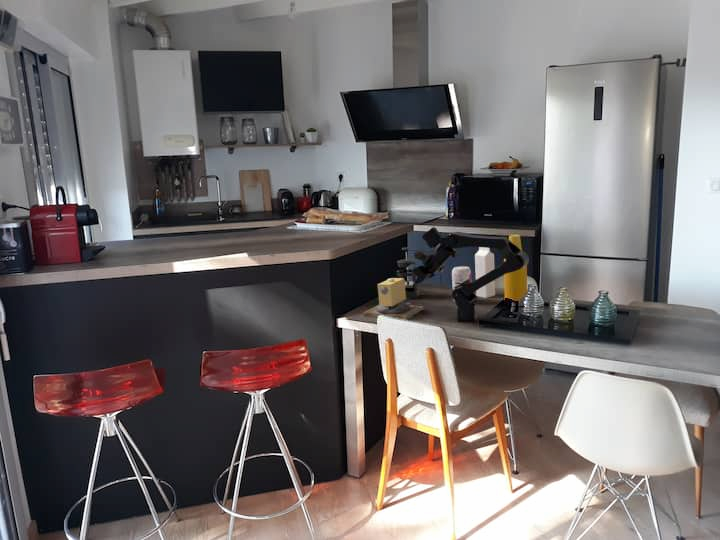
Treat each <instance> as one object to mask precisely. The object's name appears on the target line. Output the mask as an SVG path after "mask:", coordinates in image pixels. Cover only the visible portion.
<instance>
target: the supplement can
mask: <svg viewBox="0 0 720 540" xmlns="http://www.w3.org/2000/svg"><path fill="white" fill-rule="evenodd" d="M467 279H469V281H470V282H472V271H471V268H470V266H465V265H464V266H463V265H462V266H454V267H453V268H452V270H451V280H452V281H451V282H452V291H453V290H454V289H455V288H454V287H455V286H457V285H459V284H460V283H462V282H464V281H466V280H467ZM452 301H453V302H455V300H454V299H453V298H452Z"/></svg>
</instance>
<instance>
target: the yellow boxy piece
mask: <svg viewBox="0 0 720 540" xmlns="http://www.w3.org/2000/svg"><path fill="white" fill-rule="evenodd" d="M405 282H406V280H405V278H404V277H403V278H396V277H391V278H387V279H386V280H384V281H382V282H380V283H377V293H378V303H379V304H378V305H380V306H394V305H396V304H398V303H399V302H404V301H405V300H407V299H406V293H405V288H406V287H405Z"/></svg>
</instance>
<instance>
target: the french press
mask: <svg viewBox="0 0 720 540" xmlns="http://www.w3.org/2000/svg"><path fill="white" fill-rule="evenodd" d="M401 250H403V251H404V252H405V259H400V260H397V261H396V263H397V265H398V268H406V269H402V270H396V271H395V272H396V273H395V274H396V276H395V278H404V277H407V280H405V293H406V299H405V300H408V299H407V298H414V299H417V298H419V297H420V295H419V288H417V287H418V284H416V283H415V282H416V279H417V276H416V275H415V274H414V273H413V271H412V269H410V268H409V269H408V267H409V266H411V265H416V264H417V259H413V258H411V259H409V258H408V255H407V254H408V250H411V247H401ZM416 266H417V265H416ZM409 277H412V280H409ZM418 296H419V297H418ZM416 297H417V298H416Z"/></svg>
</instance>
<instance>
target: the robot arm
mask: <svg viewBox="0 0 720 540" xmlns="http://www.w3.org/2000/svg"><path fill="white" fill-rule="evenodd" d="M421 240H422V241H423V242H424V243H425V244H426V246H428V247H429V248H430V249H433V248H434V250H435V249H436V250H435V251H434V252H433V253H431V252H429V251H427V250H426V249H424V248H418V249H416V250H415V252H414V253H413V255H414V256H413V257H414V258H415V260H419V261H421V264H422V265H421V264H418V265H416V266H414V267H413V268H412V269H411V270H412V271H413V273H414V274H415V275H416V282H415V283H416V284H417V285H418V284H420V283H422V282H425V281H427V280H429V279H431V278H433V277H435V276H436V273H438V274H441V273H443V271H444V270H445V269H446V267H445V265H446V264H447V261H448V260H449V259H450V258H451V257H452V258H453V259H455V258H457V257H459V252H458V249H462V248H466V247H467V248H468V247H473V248H474V247H475V248H479V247H485V248H489V249H498V250H499V251H500V253H501V254H502V256H503V258H504V259H506V261H505V262H504V261H503V262H502V263H501V264H500V265H498V266H497V267H494V270H492V271H490V272H488V273H487V274H485V275H483V276H482V277H480V278H478V279H476V278H475V279H474V280H471V282H470V281H469V279H467V280H466V281H464V282H462V283H460V284H459V285H457V286H455V287H454V288H455V289H454V290H453V289H452V292H451V297H452V300H453V299H454V300H455V301H454V303H455V302H456V303H455V304H456V307H457V308H456V314H457V322H461V323H462V322H463V323H475V322H476V320H477V319H478V316H477V304H476V303H477V302H478V300H479V296H476V291H477V290H478V289H480V288H481V287H483V286H485V285H487V284H488V283H490V282H492V281H494V280H497V279H499V278H501V277H502V276H503V277H504V274H507V273H511V272H514V271H517V270H519V269H521V268H523V267H524V266H526V265H527V266H528V264H529V262H530V257H529V255H528V254H527V252H525V251H523V250H522V251H521V250H520V249H519V248H518V247H517V246H516V245H514V244H513V243H512V242H511V241H510V240H509V237H506V236H501V237H500V236H499V237H498V236H485V235H472V234H469V233H466V232H462V231H455V232H452V233H449V234H448V235H443V234H441V233H440V231H439V230H438V229H437V228H436V227H435V226H433V227H431V228H430V229H429V230H427V232H425V233H424V234H422V236H421Z"/></svg>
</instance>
